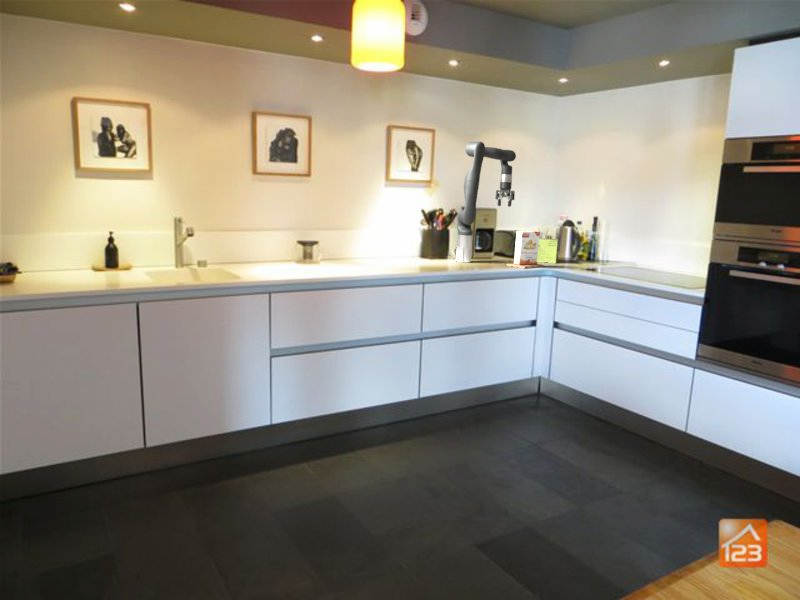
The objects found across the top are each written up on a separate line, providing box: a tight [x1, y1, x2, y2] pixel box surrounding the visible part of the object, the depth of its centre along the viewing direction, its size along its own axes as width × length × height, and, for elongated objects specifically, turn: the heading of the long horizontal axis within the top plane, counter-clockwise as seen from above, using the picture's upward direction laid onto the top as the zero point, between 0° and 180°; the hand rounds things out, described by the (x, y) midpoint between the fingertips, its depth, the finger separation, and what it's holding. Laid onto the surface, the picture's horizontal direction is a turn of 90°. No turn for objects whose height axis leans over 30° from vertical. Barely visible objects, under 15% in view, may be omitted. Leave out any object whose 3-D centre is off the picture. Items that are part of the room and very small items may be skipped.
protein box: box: [537, 237, 559, 264], centre depth 392 cm, size 10×15×16 cm
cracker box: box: [513, 230, 541, 265], centre depth 359 cm, size 14×6×21 cm, turn 117°
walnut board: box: [505, 262, 545, 269], centre depth 361 cm, size 20×14×1 cm
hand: (504, 206), depth 386 cm, fingers open, 8 cm apart
